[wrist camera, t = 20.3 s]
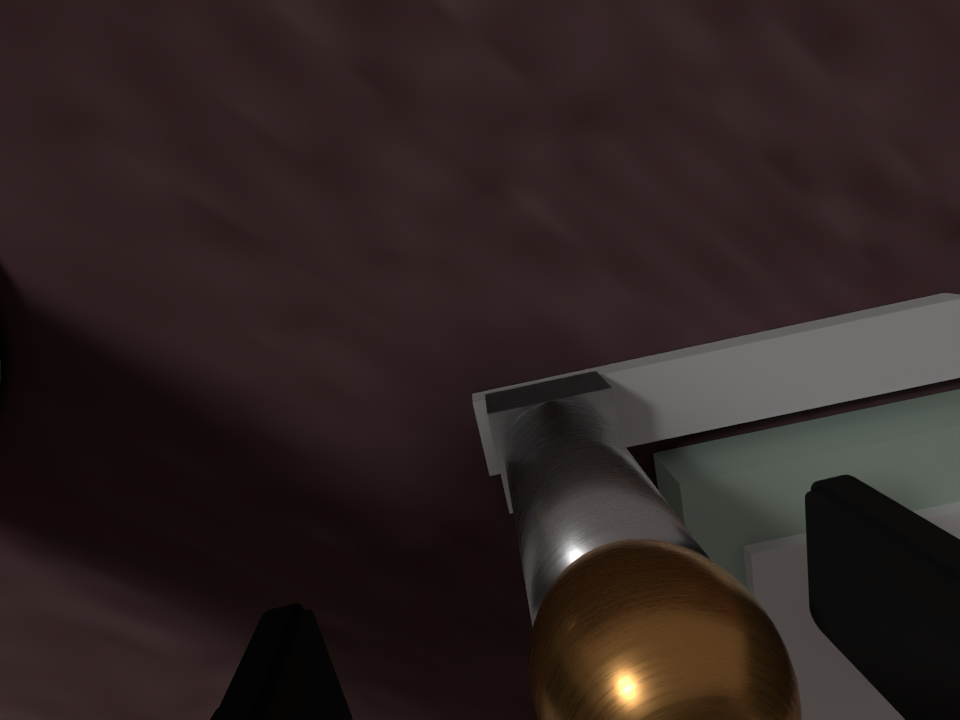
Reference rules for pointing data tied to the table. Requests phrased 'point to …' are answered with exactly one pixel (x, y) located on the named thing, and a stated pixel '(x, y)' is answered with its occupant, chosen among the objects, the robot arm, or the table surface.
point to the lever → (623, 577)
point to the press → (796, 454)
